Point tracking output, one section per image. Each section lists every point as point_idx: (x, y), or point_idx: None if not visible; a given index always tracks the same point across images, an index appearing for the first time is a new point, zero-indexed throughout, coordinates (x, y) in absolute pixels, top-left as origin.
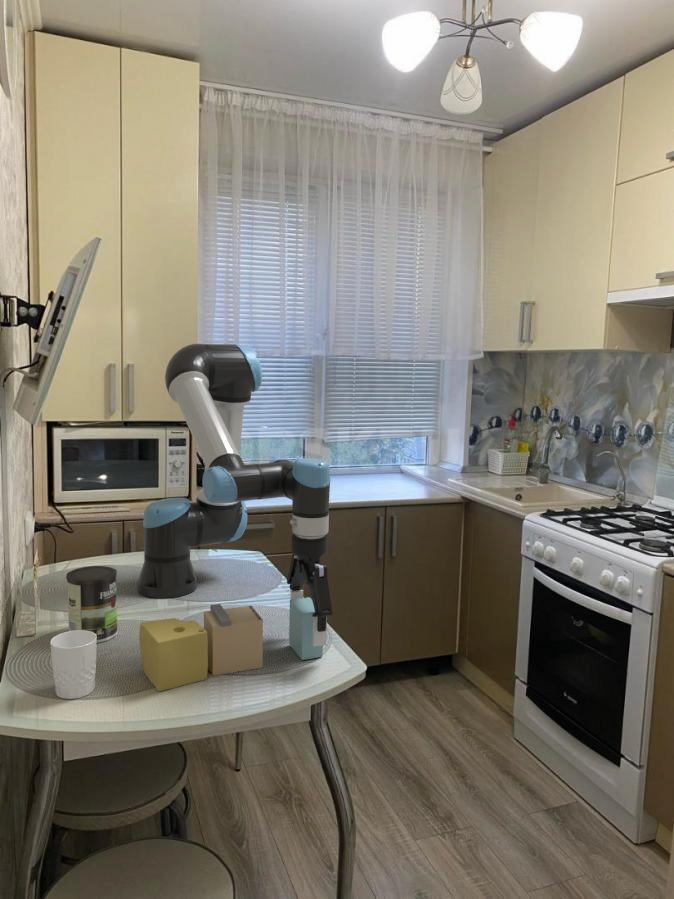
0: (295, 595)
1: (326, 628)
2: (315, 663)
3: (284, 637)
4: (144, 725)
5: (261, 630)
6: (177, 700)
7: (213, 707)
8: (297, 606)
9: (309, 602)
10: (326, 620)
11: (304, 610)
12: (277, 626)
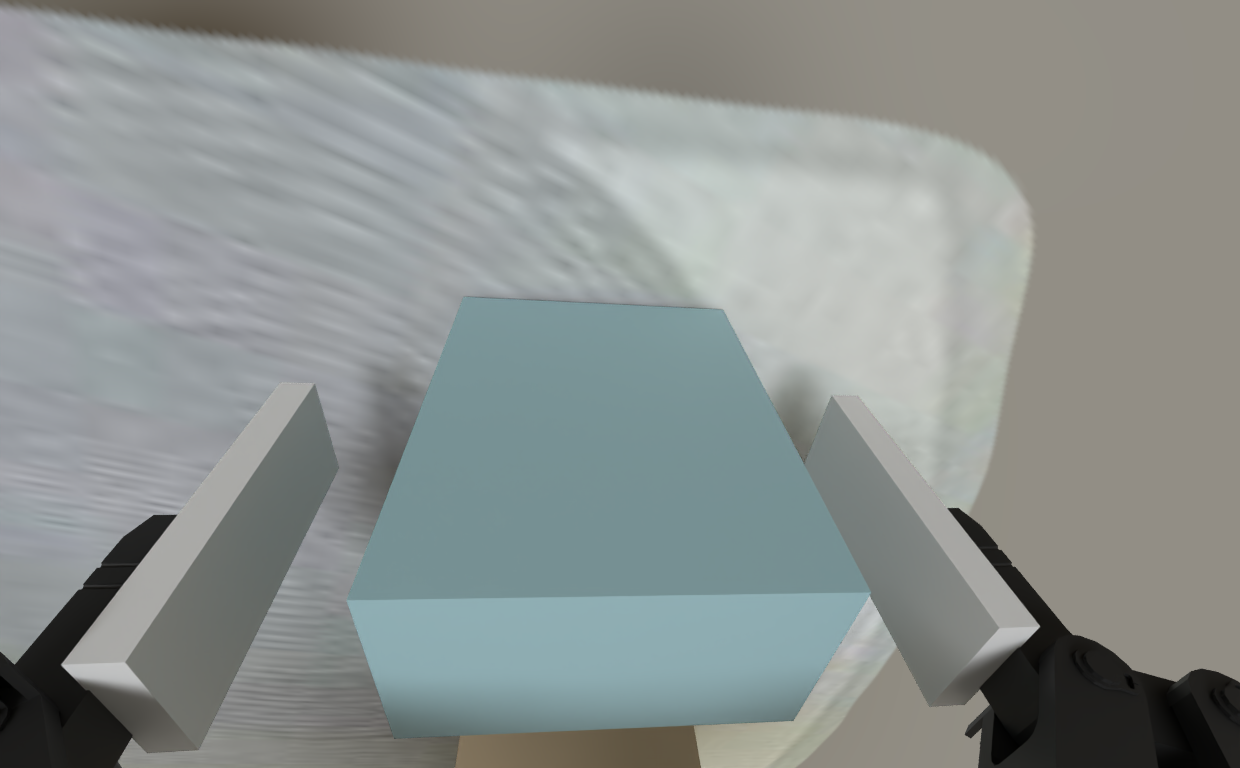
0: (210, 669)
1: (930, 490)
2: (761, 368)
3: (346, 398)
4: (791, 765)
5: (699, 761)
6: (728, 729)
7: (819, 686)
8: (611, 723)
9: (548, 638)
10: (982, 560)
11: (743, 705)
12: (136, 381)
